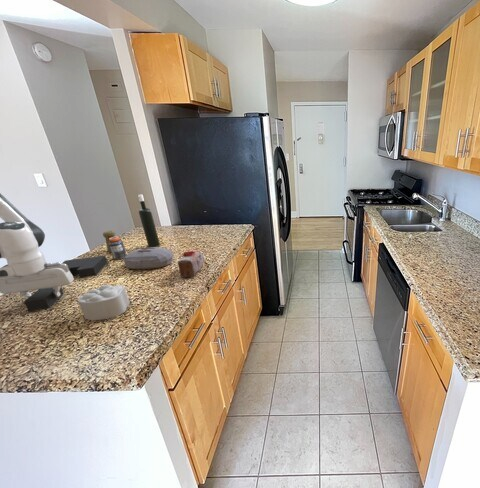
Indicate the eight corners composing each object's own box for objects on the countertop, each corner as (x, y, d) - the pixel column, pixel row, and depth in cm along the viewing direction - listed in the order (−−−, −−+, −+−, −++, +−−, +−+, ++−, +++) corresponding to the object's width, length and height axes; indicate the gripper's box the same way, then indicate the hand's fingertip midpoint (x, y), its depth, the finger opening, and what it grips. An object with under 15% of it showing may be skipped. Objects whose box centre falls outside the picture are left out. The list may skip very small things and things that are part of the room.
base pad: (52, 281, 114) (48, 273, 113) (68, 267, 126) (65, 260, 125) (96, 275, 119) (93, 267, 118) (107, 262, 132) (105, 255, 130)
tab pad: (28, 311, 95) (23, 301, 93) (49, 292, 106) (45, 284, 104) (49, 307, 97) (44, 298, 95) (67, 289, 108) (63, 281, 106)
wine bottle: (153, 247, 149) (139, 196, 138) (146, 246, 151) (131, 195, 140) (162, 244, 154) (148, 194, 143) (155, 243, 156) (141, 193, 145)
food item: (189, 264, 129) (185, 246, 125) (206, 263, 130) (202, 245, 126) (179, 278, 116) (174, 258, 113) (197, 277, 118) (193, 257, 114)
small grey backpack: (122, 272, 122) (166, 270, 124) (116, 256, 119) (162, 254, 121) (140, 258, 136) (180, 256, 138) (136, 243, 133) (176, 242, 134)
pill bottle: (118, 255, 140) (111, 235, 135) (129, 254, 140) (123, 235, 136) (110, 260, 134) (103, 240, 130) (123, 259, 135) (116, 239, 130)
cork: (119, 246, 151) (114, 228, 147) (121, 249, 147) (115, 231, 143) (106, 249, 147) (100, 231, 143) (108, 252, 143) (101, 234, 139)
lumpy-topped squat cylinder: (122, 315, 92) (114, 295, 89) (77, 323, 88) (67, 302, 85) (132, 299, 101) (125, 280, 98) (92, 306, 97) (84, 286, 94)
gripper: (69, 258, 100) (82, 288, 105) (-2, 266, 94) (16, 298, 99) (60, 265, 95) (74, 297, 100) (-16, 274, 88) (4, 308, 93)
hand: (45, 298), depth 99 cm, fingers closed on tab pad, 6 cm apart
